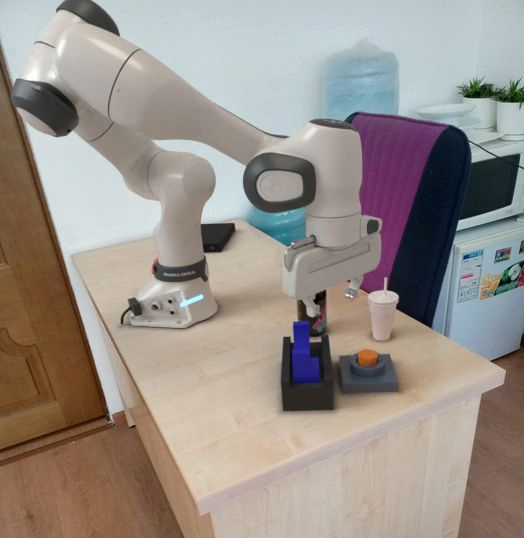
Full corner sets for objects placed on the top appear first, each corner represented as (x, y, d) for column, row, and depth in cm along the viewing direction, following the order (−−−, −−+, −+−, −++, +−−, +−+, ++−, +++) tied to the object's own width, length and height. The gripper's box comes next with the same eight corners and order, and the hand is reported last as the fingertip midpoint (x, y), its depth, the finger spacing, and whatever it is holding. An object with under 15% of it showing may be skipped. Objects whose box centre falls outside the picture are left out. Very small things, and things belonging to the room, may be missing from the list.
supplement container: (309, 340, 111) (307, 297, 105) (292, 329, 116) (289, 288, 111) (333, 331, 113) (332, 289, 108) (315, 321, 119) (314, 280, 113)
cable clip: (319, 382, 88) (318, 353, 85) (293, 383, 88) (292, 354, 85) (317, 347, 98) (316, 320, 95) (294, 348, 98) (293, 321, 95)
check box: (342, 393, 93) (342, 375, 91) (339, 364, 101) (339, 347, 99) (397, 391, 92) (399, 373, 90) (389, 363, 100) (390, 345, 98)
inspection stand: (283, 411, 89) (280, 381, 86) (285, 364, 103) (283, 336, 100) (333, 410, 89) (333, 379, 85) (328, 362, 102) (328, 334, 99)
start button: (358, 367, 93) (359, 359, 92) (356, 357, 96) (357, 349, 96) (378, 366, 93) (378, 358, 92) (375, 356, 96) (376, 348, 95)
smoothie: (379, 346, 106) (381, 285, 99) (360, 334, 111) (361, 276, 104) (402, 338, 108) (406, 278, 101) (383, 326, 113) (386, 268, 106)
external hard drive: (235, 230, 186) (234, 222, 185) (220, 252, 167) (219, 243, 165) (198, 231, 189) (197, 224, 188) (180, 252, 170) (178, 244, 168)
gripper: (298, 248, 73) (301, 332, 80) (389, 218, 84) (384, 294, 90) (270, 240, 78) (275, 320, 84) (360, 212, 88) (358, 285, 95)
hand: (333, 306), depth 87 cm, fingers open, 8 cm apart
